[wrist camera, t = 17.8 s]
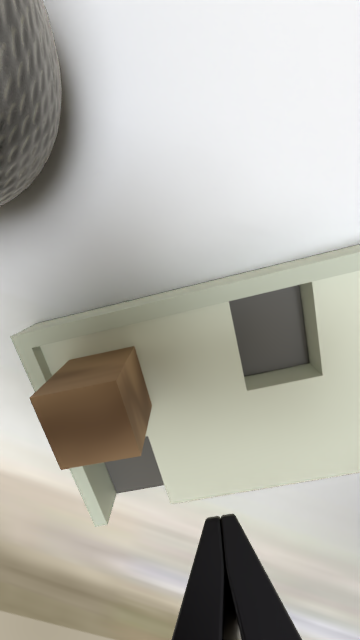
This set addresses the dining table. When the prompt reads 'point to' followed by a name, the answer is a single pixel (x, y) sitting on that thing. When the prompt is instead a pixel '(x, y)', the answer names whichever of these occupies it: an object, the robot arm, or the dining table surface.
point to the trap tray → (227, 380)
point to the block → (95, 409)
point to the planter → (26, 94)
